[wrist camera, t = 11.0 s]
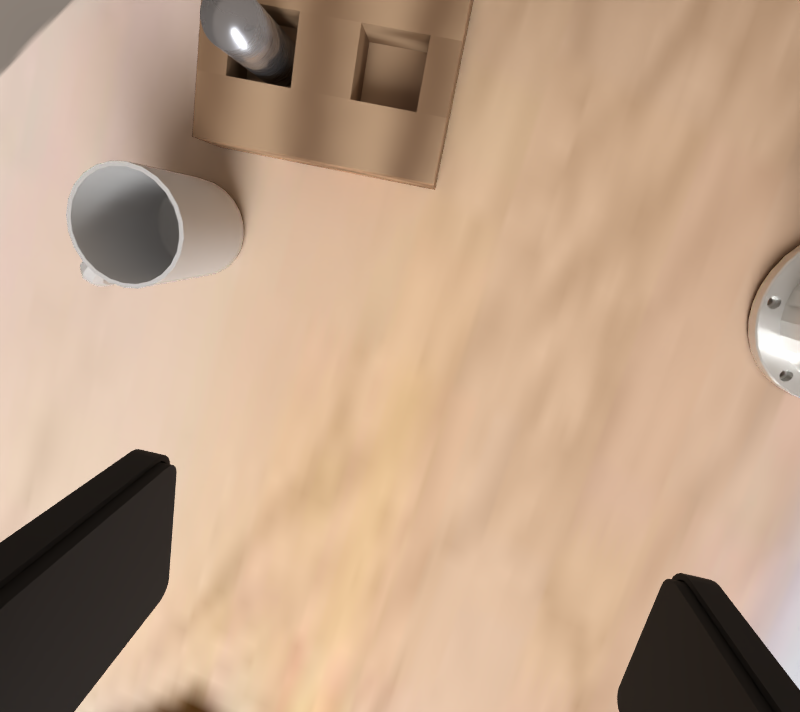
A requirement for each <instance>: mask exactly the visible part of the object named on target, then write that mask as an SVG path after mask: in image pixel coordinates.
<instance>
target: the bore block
mask: <svg viewBox="0 0 800 712" xmlns="http://www.w3.org/2000/svg"><path fill="white" fill-rule="evenodd" d="M257 1H258V3H259V4H260V5H261V6H262V7H263V8H264V9H265V10H266V12H267V13H268V14H269V15H270V16H271V17H272V18H273V19H274V20H275V22H276V23H277V24H278V25H279V26H280V27H281V28H282V29H283V30H284V32H285V33H286V34H287V35H288V36H289V37H290V38H291V39H292V40H293V42H294V43H295V44H296V47H295V56H294V64H293V73H292V81H291V84H289V85H287V86H285V87H282V86H277V85H272V84H267V83H265V82H264V81H262V80H261V79H260V78H258V77H257V76H256V75H254V74H253V73H252V72H250V71H249V70H248V69H246V68H245V67H244V66H242V65H241V64H240V63H238V62H237V61H236V60H234V59H233V58H232V57H230V56H229V55H227V54H226V53H225V52H223V51H222V50H221V49H219V48H218V47H217V46H215V45H214V44H213V43H212V42H211V41H210V40H209V39H208V38H207V36H206V34H205V32H204V30H203V28H202V24H201V19H200V29H199V44H198V59H197V74H196V89H195V103H194V118H193V133H192V137H195V138H198V139H200V140H203V141H206V142H208V143H211V144H214V145H216V146H219V147H222V148H227V149H232V150H237V151H243V152H248V153H253V154H258V155H263V156H268V157H273V158H278V159H283V160H288V161H293V162H298V163H303V164H308V165H313V166H318V167H323V168H328V169H333V170H338V171H343V172H348V173H353V174H358V175H364V176H369V177H374V178H379V179H384V180H389V181H394V182H399V183H404V184H409V185H414V186H419V187H424V188H429V189H434V190H435V187H436V182H437V177H438V172H439V167H440V162H441V157H442V152H443V148H444V143H445V138H446V133H447V128H448V123H449V118H450V113H451V108H452V103H453V98H454V93H455V88H456V83H457V78H458V74H459V69H460V64H461V59H462V54H463V49H464V44H465V39H466V34H467V29H468V24H469V19H470V14H471V9H472V5H473V0H257ZM201 3H202V0H201Z"/></svg>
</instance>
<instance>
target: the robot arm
mask: <svg viewBox="0 0 800 712" xmlns="http://www.w3.org/2000/svg"><path fill="white" fill-rule="evenodd" d="M768 300H769V302H768ZM767 302H768V303H767ZM748 338H749V344H750V350H751V353H752V355H753V357H754V360H755V362H756V364H757V366H758V367H759V369H760V370H761V371H762V373H763V374H764V375H765V377H766V378H767V379H769V380H770V381H771V382H772V383H773V384H774V385H776V386H777V387H778V388H780V389H782V390H784V391H786V392H787V393H789V394H791V395H793V396H796V397H798V398H800V245H799V246H798V247H796V248H795V249H794V250H792V251H791V252H790V253H788V254H787V255H786V256H784V257H783V259H782V260H781V261H780V262H779V263H778V264H777V265H776V266H775V267H774V268H773V269H772V270H771V271H770V273H769V274H768V276H767V277H766V278H765V280H764V281H763V283H762V284H761V286H760V288H759V290H758V292H757V294H756V297H755V299H754V301H753V303H752V308H751V312H750V316H749V322H748ZM175 486H176V468H175V466H174V465H170V461H169V458H168V457H167V456H166V455H161V454H157V453H153V452H148V451H144V450H139V449H135V450H133V451H131V452H130V453H128V454H127V455H126V456H124V457H123V458H121V459H120V460H118V461H117V462H115V463H114V464H113V465H111V466H110V467H108V468H107V469H105V470H104V471H103V472H101V473H100V474H98V475H97V476H95V477H94V478H92V479H91V480H90V481H88V482H87V483H85V484H84V485H82V486H81V487H80V488H78V489H77V490H75V491H74V492H72V493H71V494H70V495H68V496H67V497H65V498H64V499H62V500H61V501H59V502H58V503H57V504H55V505H54V506H52V507H51V508H49V509H48V510H47V511H45V512H44V513H42V514H41V515H39V516H38V517H36V518H35V519H34V520H32V521H31V522H29V523H28V524H26V525H25V526H24V527H22V528H21V529H19V530H18V531H16V532H15V533H13V534H12V535H11V536H9V537H8V538H6V539H5V540H3V541H2V542H1V543H0V712H74V711H75V710H76V709H77V707H78V706H79V705H80V703H81V702H82V701H83V700H84V698H85V697H86V696H87V694H88V693H89V692H90V691H91V689H92V688H93V687H94V685H95V684H96V683H97V682H98V680H99V679H100V678H101V676H102V675H103V674H104V673H105V671H106V670H107V669H108V667H109V666H110V665H111V664H112V662H113V661H114V660H115V658H116V657H117V656H118V655H119V653H120V652H121V651H122V649H123V648H124V647H125V646H126V644H127V643H128V642H129V640H130V639H131V638H132V637H133V635H134V634H135V633H136V631H137V630H138V629H139V628H140V626H141V625H142V624H143V622H144V621H145V620H146V618H147V617H148V616H149V615H150V613H151V612H152V611H153V609H154V608H155V607H156V606H157V604H158V603H159V602H160V600H161V599H162V597H163V595H164V593H165V591H166V588H167V585H168V581H169V569H170V555H171V541H172V528H173V514H174V500H175ZM617 700H618V709H619V712H800V690H799V689H798V687H797V686H796V685H795V683H794V682H793V681H792V680H791V678H790V677H789V676H788V674H787V673H786V672H785V670H784V669H783V668H782V667H781V665H780V664H779V663H778V661H777V660H776V659H775V658H774V656H773V655H772V654H771V652H770V651H769V650H768V648H767V647H766V646H765V645H764V643H763V642H762V641H761V639H760V638H759V637H758V635H757V634H756V633H755V632H754V630H753V629H752V628H751V626H750V625H749V624H748V622H747V621H746V620H745V619H744V617H743V616H742V615H741V613H740V612H739V611H738V609H737V608H736V607H735V606H734V604H733V603H732V602H731V600H730V599H729V598H728V596H727V595H726V594H725V593H724V591H723V590H722V589H721V587H720V586H719V585H718V584H717V583H716V582H714V581H712V580H709V579H705V578H700V577H696V576H691V575H687V574H683V573H679V574H676V575H675V576H673V578H672V579H666V580H665V581H664V582H663V584H662V586H661V588H660V590H659V593H658V595H657V598H656V600H655V602H654V605H653V607H652V609H651V612H650V614H649V617H648V619H647V621H646V624H645V626H644V629H643V631H642V633H641V636H640V638H639V641H638V643H637V645H636V648H635V650H634V653H633V655H632V657H631V660H630V662H629V665H628V667H627V669H626V672H625V674H624V676H623V679H622V681H621V684H620V686H619V689H618V696H617Z"/></svg>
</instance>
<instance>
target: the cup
mask: <svg viewBox="0 0 800 712" xmlns="http://www.w3.org/2000/svg"><path fill="white" fill-rule="evenodd" d="M66 217H67V225H68V232H69V235H70V237H71V240H72V243H73V246H74V248H75V250H76V251H77V253H78V254H79V256H80V258H81V259H82V261H83V262H82V263H81V264H80V269H81V273H82V277H83V279H84V280H86V281H88V282H89V283H91V284H93V285H95V286H110V285H118V286H121V287H125V288H143V287H148V286H154V285H159V284H165V283H170V282H176V281H181V280H187V279H192V278H198V277H203V276H208V275H212V274H216V273H218V272H220V271H222V270H224V269H226V268H227V267H228V266H229V265H230V264H231V263H232V262H233V261H234V260H235V259H236V257H237V256H238V254H239V252H240V250H241V247H242V243H243V238H244V228H243V221H242V217H241V214H240V211H239V209H238V207H237V205H236V204H235V202H234V200H233V199H232V198H231V197H230V195H229V194H228V193H227V192H226V191H225V190H224V189H222V188H221V187H219V186H218V185H216V184H215V183H213V182H210V181H207V180H204V179H201V178H198V177H194V176H190V175H185V174H181V173H176V172H172V171H167V170H163V169H158V168H154V167H149V166H144V165H140V164H135V163H131V162H126V161H108V162H104V163H100V164H97V165H95V166H93V167H92V168H90V169H89V170H87V171H85V172H84V173H83V174H82V175H81V176H80V178H79V179H78V180H77V181H76V183H75V184H74V186H73V188H72V191H71V193H70V196H69V198H68V205H67V213H66Z"/></svg>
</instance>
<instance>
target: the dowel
mask: <svg viewBox="0 0 800 712" xmlns="http://www.w3.org/2000/svg"><path fill="white" fill-rule="evenodd" d="M200 19H201V24H202V28H203V30H204V32H205V34H206V36H207V38H208V39H209V40H210V41H211V42H212V43H213V44H214V45H215V46H217V47H218V48H219V49H221V50H222V51H223V52H225V53H226V54H227V55H229V56H230V57H232V58H233V59H234V60H236V61H237V62H238V63H240V64H241V65H242V66H244V67H245V68H246V69H248V70H249V71H250V72H252V73H253V74H254V75H256V76H257V77H258V78H260V79H261V80H262V81H264V82H265V83H267V84H272V85H277V86H282V87H285V86H287V85H289V84H291V81H292V73H293V64H294V56H295V47H296V44H295V43H294V42H293V40H292V39H291V38H290V37H289V36H288V35H287V34H286V33H285V32H284V30H283V29H282V28H281V27H280V26H279V25H278V24H277V23H276V22H275V20H274V19H273V18H272V17H271V16H270V15H269V14H268V13H267V12H266V10H265V9H264V8H263V7H262V6H261V5H260V4H259V3H258V1H257V0H202V3H201V8H200Z"/></svg>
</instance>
